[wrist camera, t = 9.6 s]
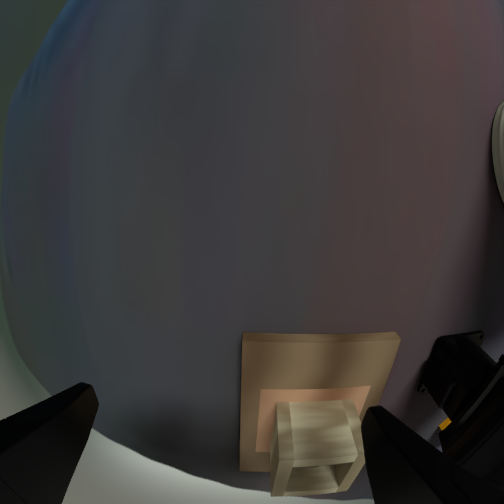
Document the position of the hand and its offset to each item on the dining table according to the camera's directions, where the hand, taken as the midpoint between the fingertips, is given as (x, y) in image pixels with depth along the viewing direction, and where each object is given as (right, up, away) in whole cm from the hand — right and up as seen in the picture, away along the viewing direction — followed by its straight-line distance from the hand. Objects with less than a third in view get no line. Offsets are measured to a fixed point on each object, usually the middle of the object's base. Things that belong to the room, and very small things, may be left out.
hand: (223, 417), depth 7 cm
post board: (+6, -10, +15) cm, 19 cm away
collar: (+6, -10, +14) cm, 18 cm away
